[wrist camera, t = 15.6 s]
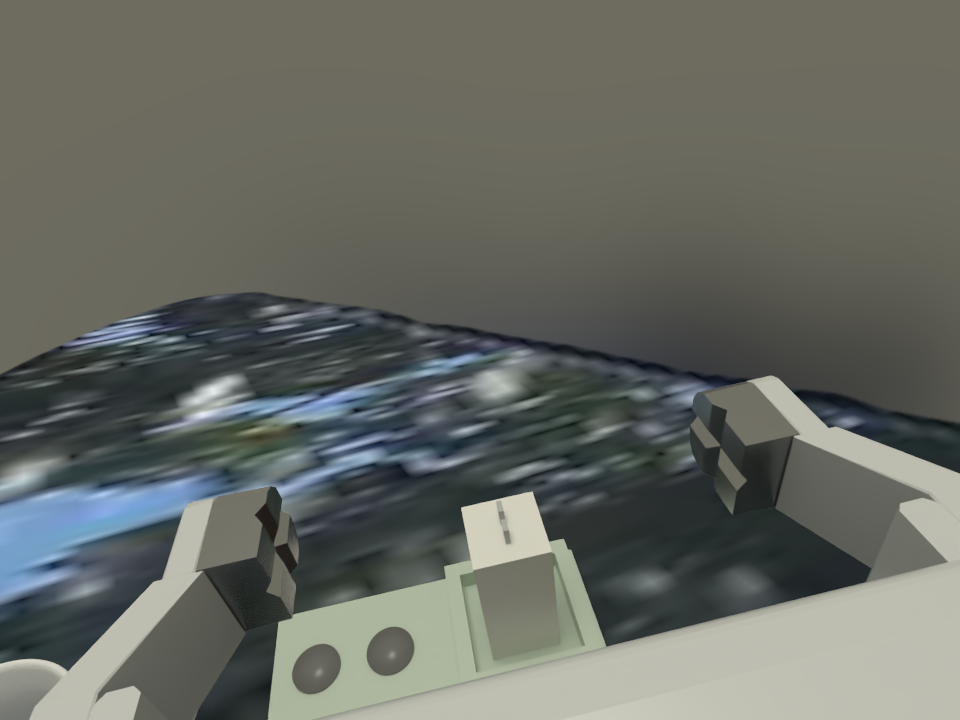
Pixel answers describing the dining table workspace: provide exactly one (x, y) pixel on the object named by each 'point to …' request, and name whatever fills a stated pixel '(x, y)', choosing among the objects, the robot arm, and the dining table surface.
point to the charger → (513, 574)
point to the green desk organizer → (410, 643)
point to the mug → (27, 686)
